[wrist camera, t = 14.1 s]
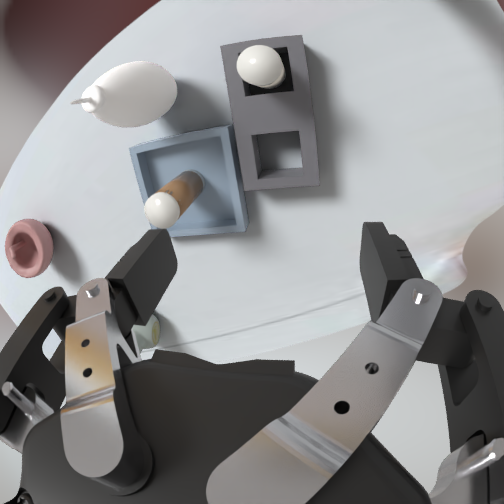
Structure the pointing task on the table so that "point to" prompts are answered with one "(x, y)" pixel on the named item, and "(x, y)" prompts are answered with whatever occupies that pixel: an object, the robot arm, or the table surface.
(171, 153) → the parts tray
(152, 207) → the cylinder
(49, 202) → the table surface
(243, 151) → the block
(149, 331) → the air freshener
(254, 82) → the cylinder
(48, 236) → the mortar and pestle
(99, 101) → the sauce bottle
